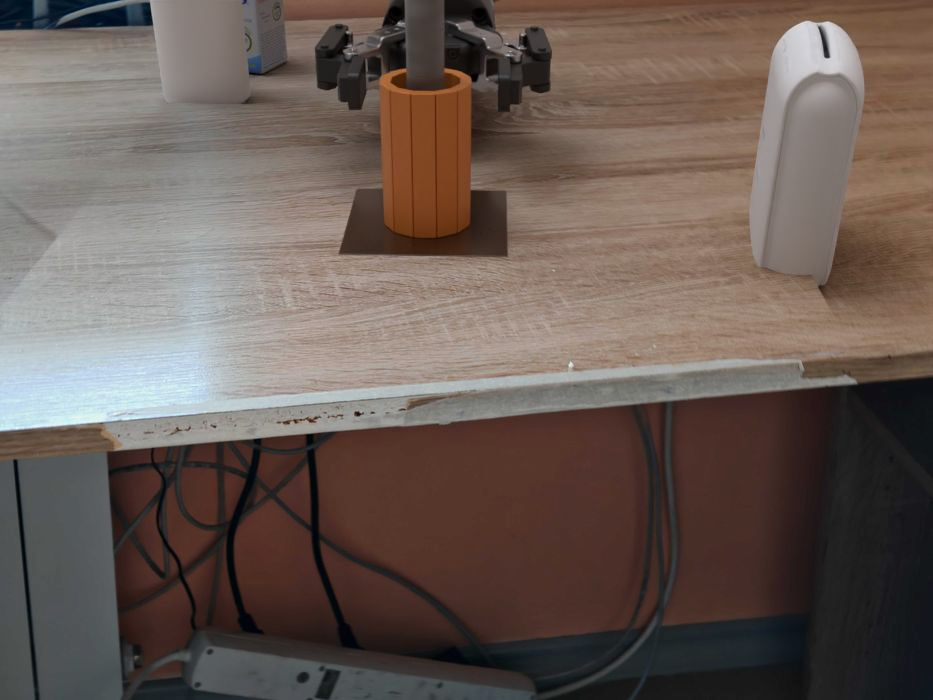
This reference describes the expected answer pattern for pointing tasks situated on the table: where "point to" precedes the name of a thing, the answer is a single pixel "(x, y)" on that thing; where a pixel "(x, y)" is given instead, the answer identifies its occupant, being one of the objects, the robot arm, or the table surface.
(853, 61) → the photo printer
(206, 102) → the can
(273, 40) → the medicine box
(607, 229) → the table surface
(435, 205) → the ring sleeve
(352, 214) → the post stand
